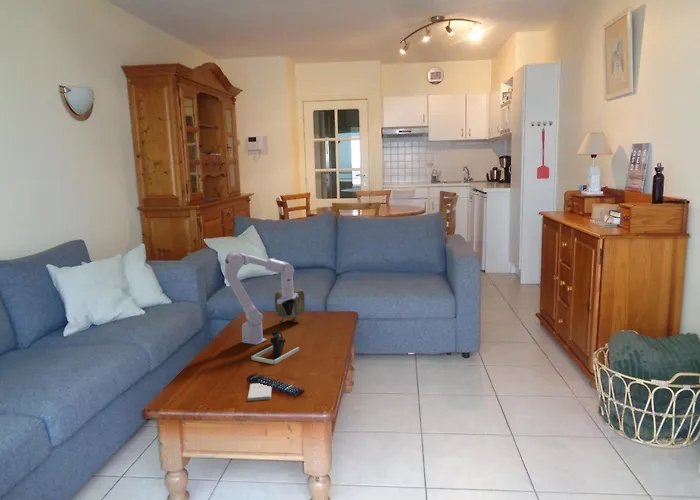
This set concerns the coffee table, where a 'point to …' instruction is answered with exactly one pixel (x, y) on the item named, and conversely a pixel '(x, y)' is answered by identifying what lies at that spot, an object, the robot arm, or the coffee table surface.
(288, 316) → the tabletop clock
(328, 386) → the coffee table surface
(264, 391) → the external hard drive
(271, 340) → the gaming controller
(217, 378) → the coffee table surface
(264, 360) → the grey u-shaped bracket
